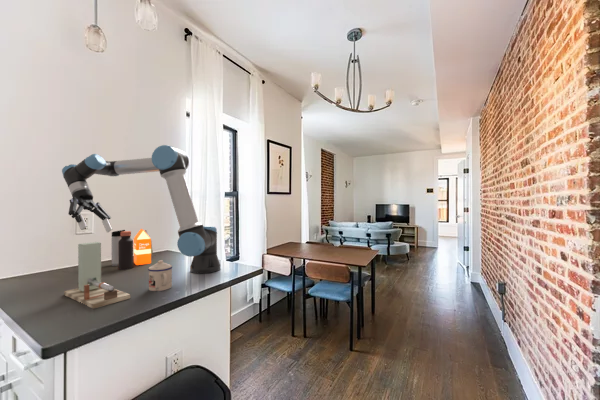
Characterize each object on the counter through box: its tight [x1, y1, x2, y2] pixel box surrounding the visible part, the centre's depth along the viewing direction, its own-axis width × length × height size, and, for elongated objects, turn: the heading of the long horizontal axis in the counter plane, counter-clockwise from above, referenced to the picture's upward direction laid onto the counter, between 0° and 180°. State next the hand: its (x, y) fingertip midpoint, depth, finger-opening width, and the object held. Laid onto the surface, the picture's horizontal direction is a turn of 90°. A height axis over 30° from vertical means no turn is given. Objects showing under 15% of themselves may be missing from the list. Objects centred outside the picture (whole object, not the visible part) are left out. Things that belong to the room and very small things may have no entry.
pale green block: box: [77, 241, 102, 292], centre depth 111 cm, size 4×6×18 cm, turn 147°
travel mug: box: [111, 229, 126, 267], centre depth 161 cm, size 6×7×20 cm
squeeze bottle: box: [144, 229, 154, 257], centre depth 178 cm, size 8×8×18 cm
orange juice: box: [133, 228, 152, 266], centre depth 165 cm, size 8×9×20 cm
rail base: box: [63, 285, 131, 309], centre depth 107 cm, size 26×12×6 cm, turn 57°
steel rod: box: [88, 278, 115, 292], centre depth 107 cm, size 24×2×2 cm, turn 57°
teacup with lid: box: [147, 259, 173, 292], centre depth 116 cm, size 12×9×12 cm
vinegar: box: [118, 230, 134, 271], centre depth 152 cm, size 7×7×20 cm
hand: (97, 229), depth 128 cm, fingers open, 13 cm apart
